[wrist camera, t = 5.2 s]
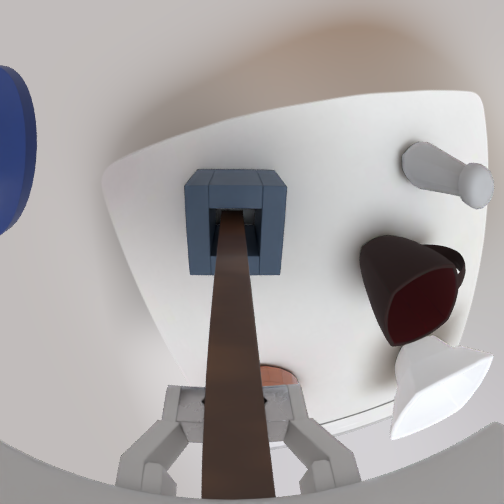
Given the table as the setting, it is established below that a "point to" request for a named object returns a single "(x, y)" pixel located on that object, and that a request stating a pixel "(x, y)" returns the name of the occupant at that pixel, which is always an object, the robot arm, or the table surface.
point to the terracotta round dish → (276, 376)
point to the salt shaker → (447, 174)
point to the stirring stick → (234, 380)
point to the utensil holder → (235, 196)
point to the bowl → (434, 383)
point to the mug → (410, 286)
